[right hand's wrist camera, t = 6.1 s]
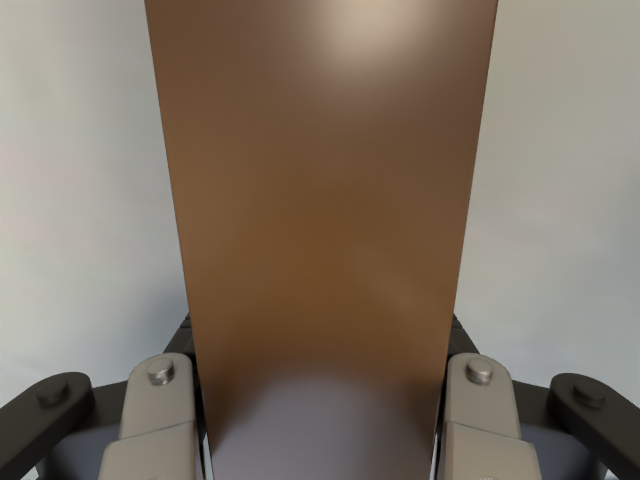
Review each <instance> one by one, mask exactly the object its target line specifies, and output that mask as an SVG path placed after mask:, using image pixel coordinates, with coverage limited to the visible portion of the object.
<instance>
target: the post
mask: <svg viewBox="0 0 640 480" xmlns="http://www.w3.org/2000/svg"><path fill="white" fill-rule="evenodd" d="M144 2H145V9H146V16H147V23H148V30H149V36H150V43H151V50H152V57H153V64H154V71H155V78H156V85H157V92H158V99H159V106H160V113H161V119H162V126H163V133H164V140H165V147H166V154H167V161H168V168H169V175H170V182H171V189H172V196H173V202H174V209H175V216H176V223H177V230H178V237H179V244H180V251H181V258H182V265H183V272H184V279H185V285H186V292H187V299H188V306H189V313H190V320H191V327H192V334H193V341H194V348H195V355H196V362H197V368H198V375H199V382H200V389H201V396H202V403H203V410H204V417H205V424H206V431H207V438H208V445H209V451H210V458H211V465H212V472H213V479H214V480H429V478H430V471H431V464H432V457H433V450H434V443H435V437H436V430H437V423H438V416H439V409H440V402H441V395H442V388H443V381H444V374H445V367H446V360H447V353H448V346H449V339H450V332H451V325H452V318H453V311H454V304H455V298H456V291H457V284H458V277H459V270H460V263H461V256H462V249H463V242H464V235H465V228H466V221H467V214H468V207H469V200H470V193H471V186H472V179H473V172H474V165H475V159H476V152H477V145H478V138H479V131H480V124H481V117H482V110H483V103H484V96H485V89H486V82H487V75H488V68H489V61H490V54H491V47H492V40H493V33H494V27H495V20H496V13H497V6H498V0H144Z"/></svg>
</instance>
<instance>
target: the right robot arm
mask: <svg viewBox="0 0 640 480" xmlns="http://www.w3.org/2000/svg"><path fill="white" fill-rule="evenodd" d="M206 432H207V431H206V424H205V417H204V410H203V403H202V396H201V389H200V382H199V375H198V368H197V362H196V355H195V348H194V341H193V334H192V327H191V320H190V313H188V314H187V316H186V317H185V320H184V321H183V322H182V324H181V325H180V328H178V330H177V332H176V333H175V335H174V336H173V338H172V339H171V341H170V342H169V344H168V346H167V347H166V349H165V350H164V352H163V353H162V354H159V355H156V356H153V357H150V358H148V359H146V360H144V361H143V362H141V363H140V364H138V365H137V366H136V367H135V368H134V369H133V370H132V372H131V374H130V375H129V379H128V380H126V381H123V382H119V383H114V384H110V385H105V386H100V387H96V388H92V385H91V381H90V378H89V377H88V376H87V375H86V374H84V373H80V372H66V373H61V374H57V375H54V376H51V377H48V378H46V379H43V380H41V381H39V382H37V383H36V384H34V385H32V386H31V387H29V388H28V389H26V390H25V391H24V392H22V393H21V394H20V395H18V396H17V397H16V398H14V399H13V400H11V401H10V402H9V403H7V404H6V405H5V406H3V407H2V408H1V409H0V480H20V479H21V478H23V477H24V476H25V475H26V474H27V473H28V472H29V471H30V470H31V469H32V468H33V467H34V466H35V467H36V470H37V472H38V475H39V477H38V478H37V479H36V480H207V474H206V462H205V449H204V442H203V440H204V438H205V435H206ZM436 433H437V442H436V449H435V462H434V474H433V480H604V478H605V475H606V473H607V470H608V469H609V470H610V471H611V472H612V473H613V474H614V475H615V476H616V477H617V478H619V479H620V480H640V409H639V408H638V407H637V406H635V405H634V404H633V403H631V402H630V401H629V400H627V399H626V398H624V397H623V396H622V395H620V394H619V393H618V392H616V391H615V390H614V389H612V388H611V387H609V386H607V385H606V384H604V383H602V382H600V381H598V380H596V379H593V378H591V377H588V376H584V375H580V374H574V373H562V374H558V375H556V376H554V377H553V378H552V381H551V384H550V387H549V388H544V387H540V386H535V385H530V384H526V383H522V382H518V381H515V380H512V379H511V376H510V374H509V372H508V370H507V369H506V368H505V367H504V366H503V365H502V364H500V363H499V362H497V361H496V360H494V359H492V358H490V357H487V356H484V355H481V354H480V353H479V351H478V350H477V348H476V347H475V345H474V344H473V342H472V341H471V339H470V337H469V336H468V334H467V333H466V331H465V330H464V329H463V328H462V325H461V324H460V322H459V320H457V317H456V316H455V314H454V313H453V318H452V325H451V332H450V339H449V346H448V353H447V360H446V367H445V374H444V381H443V388H442V395H441V402H440V409H439V416H438V423H437V430H436Z"/></svg>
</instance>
